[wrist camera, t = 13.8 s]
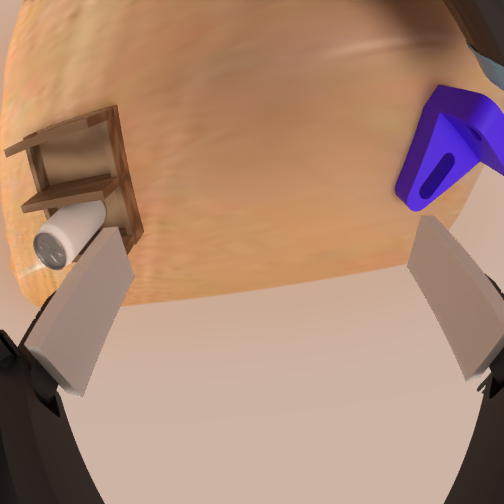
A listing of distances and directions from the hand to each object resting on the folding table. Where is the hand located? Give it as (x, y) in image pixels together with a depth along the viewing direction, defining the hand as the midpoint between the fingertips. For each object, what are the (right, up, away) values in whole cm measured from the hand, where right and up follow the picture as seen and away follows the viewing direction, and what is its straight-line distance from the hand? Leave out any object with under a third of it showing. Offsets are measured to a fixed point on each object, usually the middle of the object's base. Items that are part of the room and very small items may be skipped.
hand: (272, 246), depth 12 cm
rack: (-26, +11, +25) cm, 38 cm away
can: (-26, +7, +27) cm, 38 cm away
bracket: (+26, +15, +22) cm, 37 cm away
